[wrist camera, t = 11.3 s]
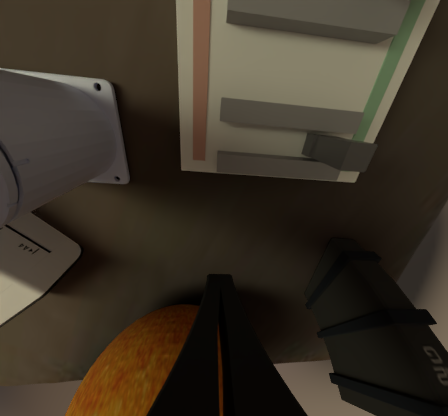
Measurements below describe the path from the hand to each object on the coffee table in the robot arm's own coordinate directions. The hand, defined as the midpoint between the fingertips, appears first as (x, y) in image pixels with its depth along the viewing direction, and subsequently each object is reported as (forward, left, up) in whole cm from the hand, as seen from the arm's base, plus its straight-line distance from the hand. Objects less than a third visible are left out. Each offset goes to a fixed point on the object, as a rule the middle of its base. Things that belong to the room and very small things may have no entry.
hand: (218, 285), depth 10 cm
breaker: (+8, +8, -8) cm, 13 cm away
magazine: (+16, -10, -10) cm, 21 cm away
